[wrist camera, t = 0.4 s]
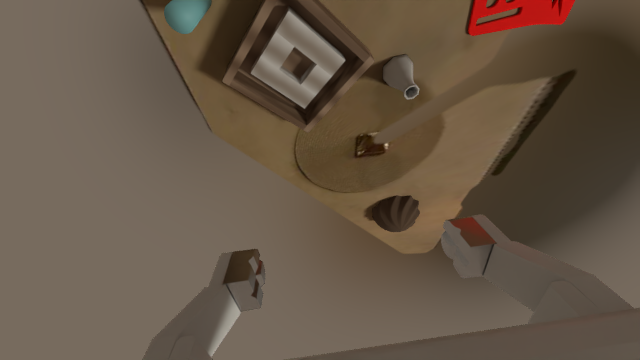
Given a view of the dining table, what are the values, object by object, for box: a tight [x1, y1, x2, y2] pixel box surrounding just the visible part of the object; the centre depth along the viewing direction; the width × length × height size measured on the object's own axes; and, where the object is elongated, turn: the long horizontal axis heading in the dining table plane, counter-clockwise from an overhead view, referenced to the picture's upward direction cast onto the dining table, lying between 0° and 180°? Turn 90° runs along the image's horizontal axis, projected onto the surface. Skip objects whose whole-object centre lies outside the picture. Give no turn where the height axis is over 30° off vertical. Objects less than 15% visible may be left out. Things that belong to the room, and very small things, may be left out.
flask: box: [383, 54, 419, 100], centre depth 53 cm, size 7×7×10 cm
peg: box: [164, 0, 212, 34], centre depth 39 cm, size 4×4×12 cm
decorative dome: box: [372, 196, 420, 232], centre depth 99 cm, size 19×20×10 cm
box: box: [222, 0, 375, 132], centre depth 51 cm, size 22×22×6 cm
